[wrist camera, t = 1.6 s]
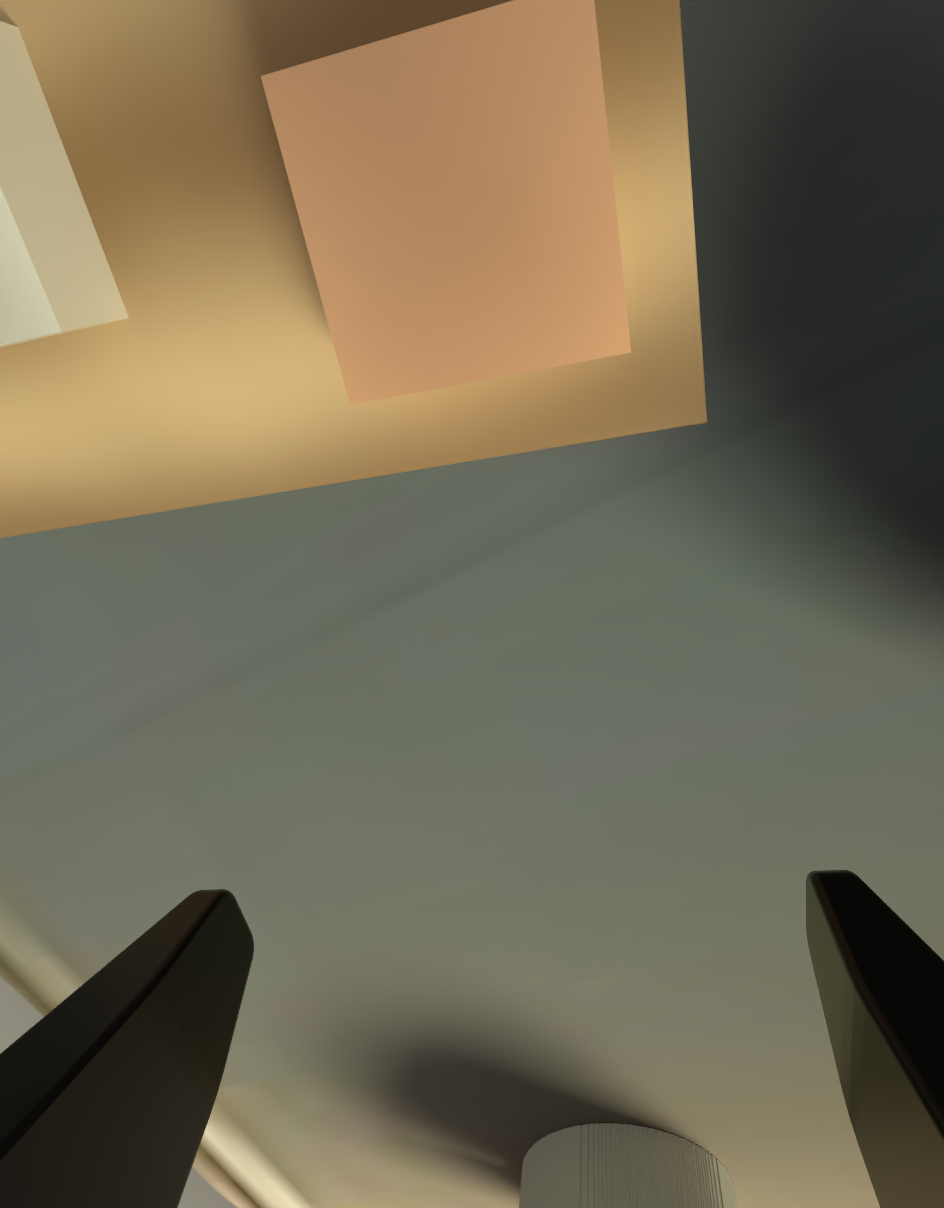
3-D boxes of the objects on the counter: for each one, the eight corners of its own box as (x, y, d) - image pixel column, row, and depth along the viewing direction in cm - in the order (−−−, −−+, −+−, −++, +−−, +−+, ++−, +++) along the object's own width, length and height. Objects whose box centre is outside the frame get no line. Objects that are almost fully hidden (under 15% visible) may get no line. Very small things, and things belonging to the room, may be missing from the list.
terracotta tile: (626, 334, 13) (631, 352, 11) (381, 382, 14) (349, 404, 12) (591, 17, 11) (592, -24, 9) (310, 98, 12) (260, 75, 10)
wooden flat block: (682, 380, 17) (707, 422, 13) (82, 486, 20) (-25, 541, 17) (622, -388, 12) (637, -653, 8) (-167, -69, 15) (-398, -158, 12)
